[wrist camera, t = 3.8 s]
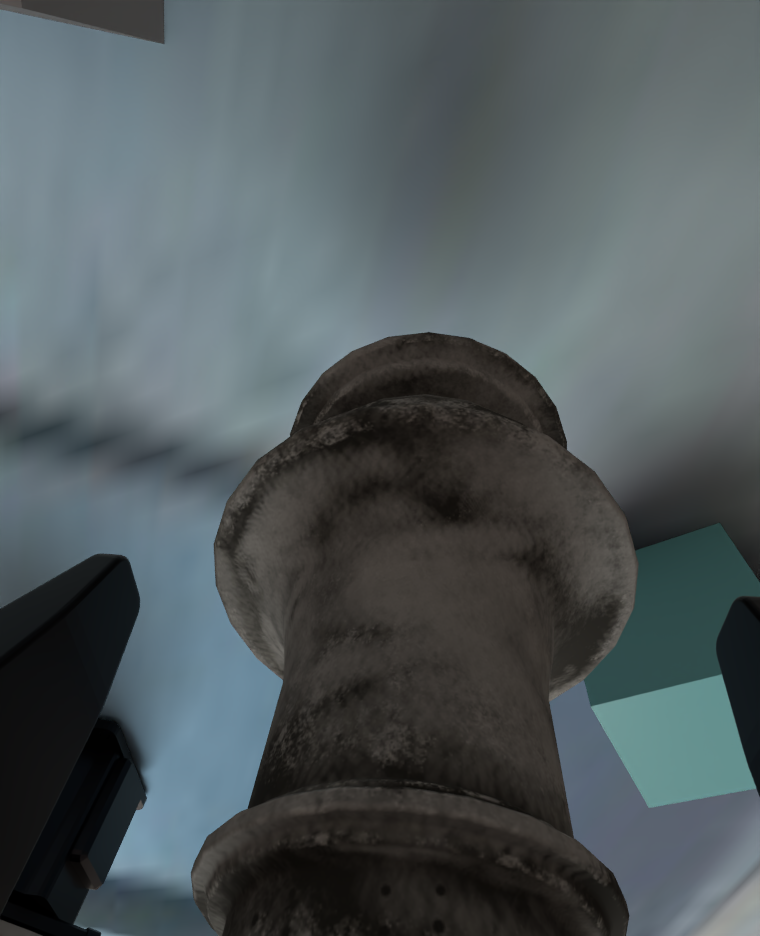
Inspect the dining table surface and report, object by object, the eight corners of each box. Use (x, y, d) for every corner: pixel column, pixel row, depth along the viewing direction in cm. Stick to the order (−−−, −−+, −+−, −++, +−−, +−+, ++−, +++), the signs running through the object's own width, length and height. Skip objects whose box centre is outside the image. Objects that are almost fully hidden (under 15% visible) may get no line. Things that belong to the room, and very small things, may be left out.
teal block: (607, 668, 21) (648, 807, 17) (558, 573, 19) (590, 706, 15) (755, 629, 19) (842, 772, 15) (718, 521, 17) (807, 653, 13)
